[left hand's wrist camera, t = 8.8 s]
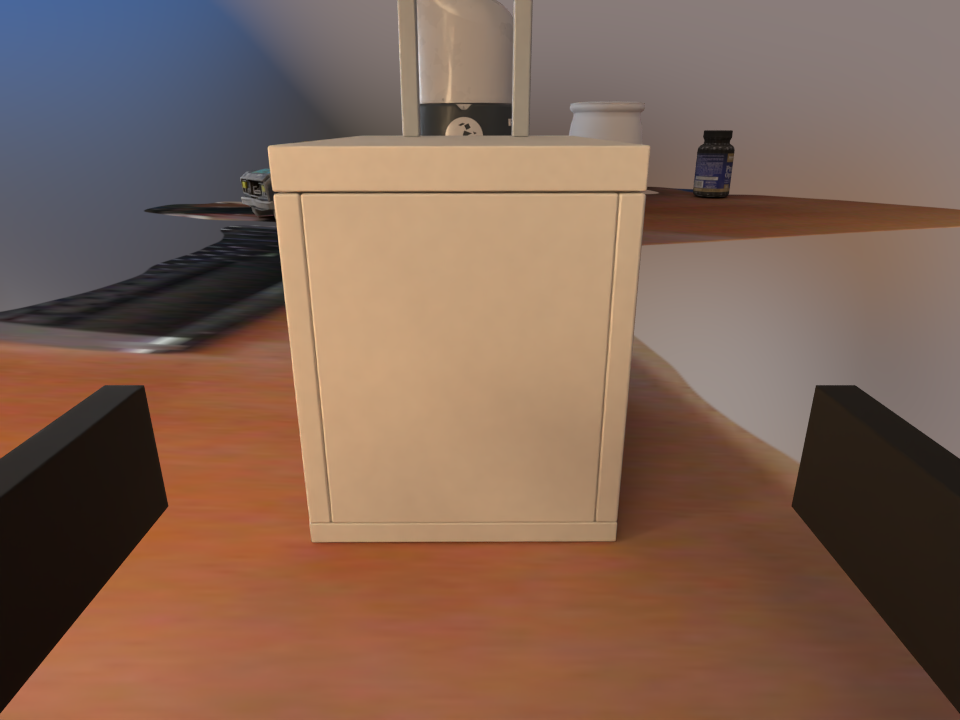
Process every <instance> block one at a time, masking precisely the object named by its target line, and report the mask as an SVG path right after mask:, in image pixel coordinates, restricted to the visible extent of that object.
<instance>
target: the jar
mask: <svg viewBox="0 0 960 720" xmlns="http://www.w3.org/2000/svg"><path fill="white" fill-rule="evenodd" d="M570 105H571V106H570V110H571V111H572V112H573V113H574V116H573V120H572V123H571V127H570V132H569V136H579V137H586V138H594V139H602V140H610V141H618V142H625V143H633V144H641V145H642V124H641V119H640V113H641V112H642V111H643V110H644V109H645V105H644V103H641V102H578V103H573V104H570Z"/></svg>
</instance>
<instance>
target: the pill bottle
mask: <svg viewBox="0 0 960 720" xmlns="http://www.w3.org/2000/svg"><path fill="white" fill-rule="evenodd" d="M732 132H733V131H704V136H703V137H704V140H705V141H704V144H703V145H701V146H700V147H699V148H698V152H697V161H696V170H695V179H694V188H693V193H694V195H696V196H702V197H726V196H728V194H729V189H730V181H731V173H732V165H733V158H734V147H733V146H732V145H731V144H730V140H731V138H732Z"/></svg>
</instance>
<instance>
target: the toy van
mask: <svg viewBox="0 0 960 720" xmlns="http://www.w3.org/2000/svg"><path fill="white" fill-rule="evenodd" d="M303 142H309V141H303ZM293 143H300V142H293ZM289 144H290V143H289ZM241 184H242V188H243V192H244V195H245V197H241V199H242V202H243V204H246V205H249V206H251V207H252V210H253V212H254V213H255V214H256V215H257V216H261V215H273V214H274V217H275V219H276V214H275V205H274V194H277V193H279V192H275V191H273V190H272V182H271V173H270V168H268V169H262V170H256V171H249V172H246V173H245V174H244V175H243V176H242V177H241Z"/></svg>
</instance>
